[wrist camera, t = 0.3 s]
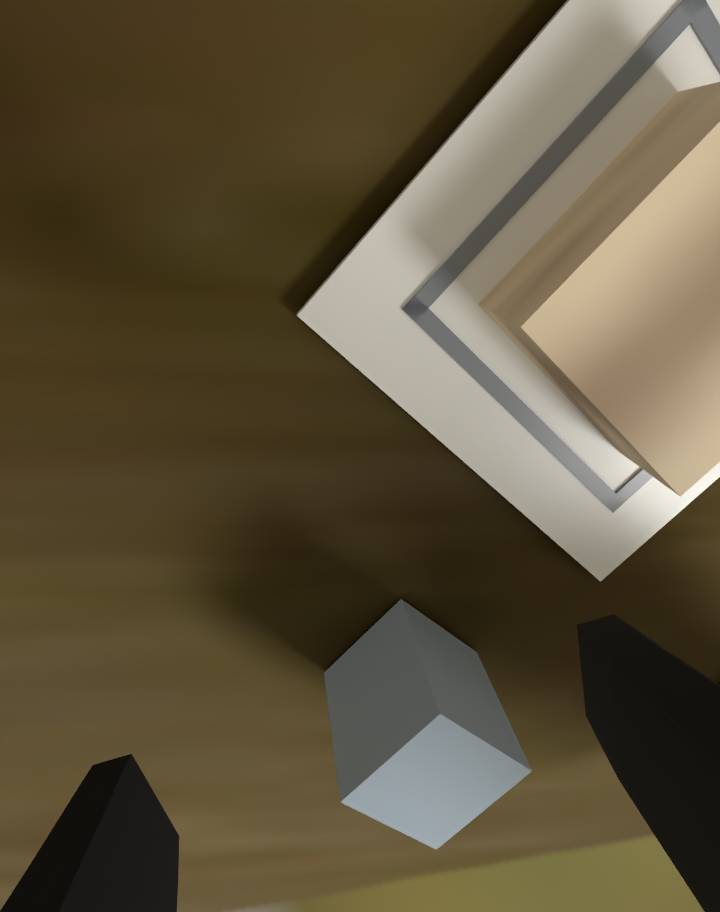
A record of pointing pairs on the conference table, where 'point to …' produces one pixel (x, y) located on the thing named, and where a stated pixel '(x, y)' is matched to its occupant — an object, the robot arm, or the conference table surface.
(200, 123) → the conference table surface
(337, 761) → the grey rectangular block
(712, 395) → the maple slab
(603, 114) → the white square board
